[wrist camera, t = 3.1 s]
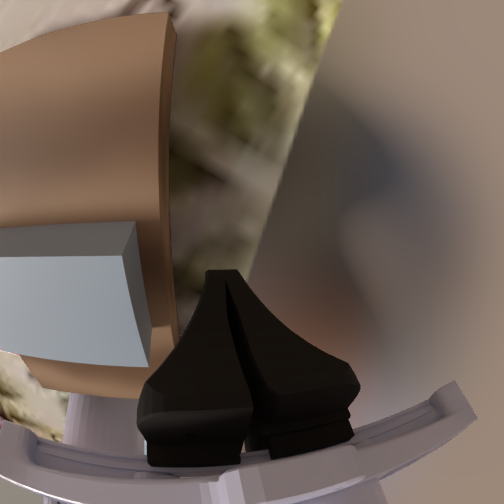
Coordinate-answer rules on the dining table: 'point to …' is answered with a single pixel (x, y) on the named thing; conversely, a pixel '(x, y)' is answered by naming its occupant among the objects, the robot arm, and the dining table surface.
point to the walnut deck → (95, 162)
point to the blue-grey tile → (74, 294)
